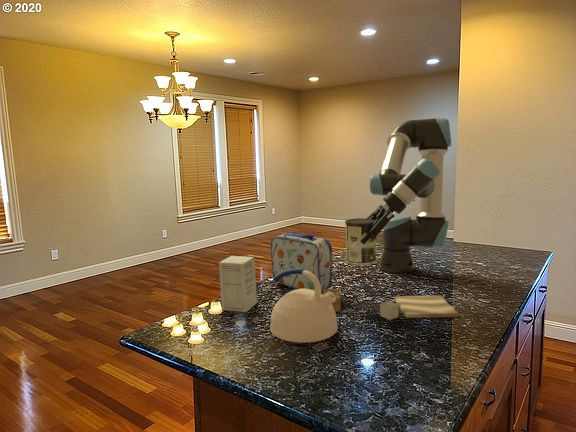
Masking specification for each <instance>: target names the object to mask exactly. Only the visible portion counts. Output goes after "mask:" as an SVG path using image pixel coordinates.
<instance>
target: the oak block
mask: <svg viewBox="0 0 576 432" xmlns="http://www.w3.org/2000/svg"><path fill="white" fill-rule="evenodd" d="M327 292H335V293H336V294H337V295H339V296H340V298H341V297H342V295H341V289H340V288H328V289H323V290H322V294H324V293H327Z"/></svg>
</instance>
